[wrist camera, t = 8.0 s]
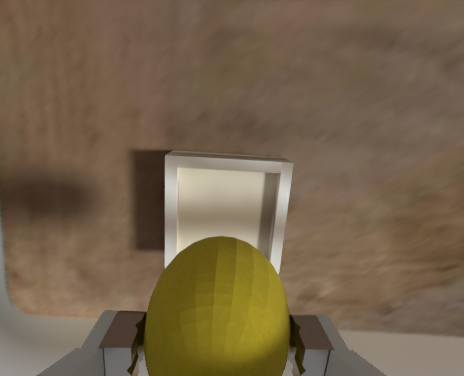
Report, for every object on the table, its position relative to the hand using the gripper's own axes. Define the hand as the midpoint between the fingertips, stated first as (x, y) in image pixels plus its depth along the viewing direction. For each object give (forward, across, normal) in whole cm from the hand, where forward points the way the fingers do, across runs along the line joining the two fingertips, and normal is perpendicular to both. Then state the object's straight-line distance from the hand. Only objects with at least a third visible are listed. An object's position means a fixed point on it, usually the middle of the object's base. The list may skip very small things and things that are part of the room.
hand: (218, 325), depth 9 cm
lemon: (+5, 0, 0) cm, 5 cm away
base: (+17, -1, +1) cm, 17 cm away
